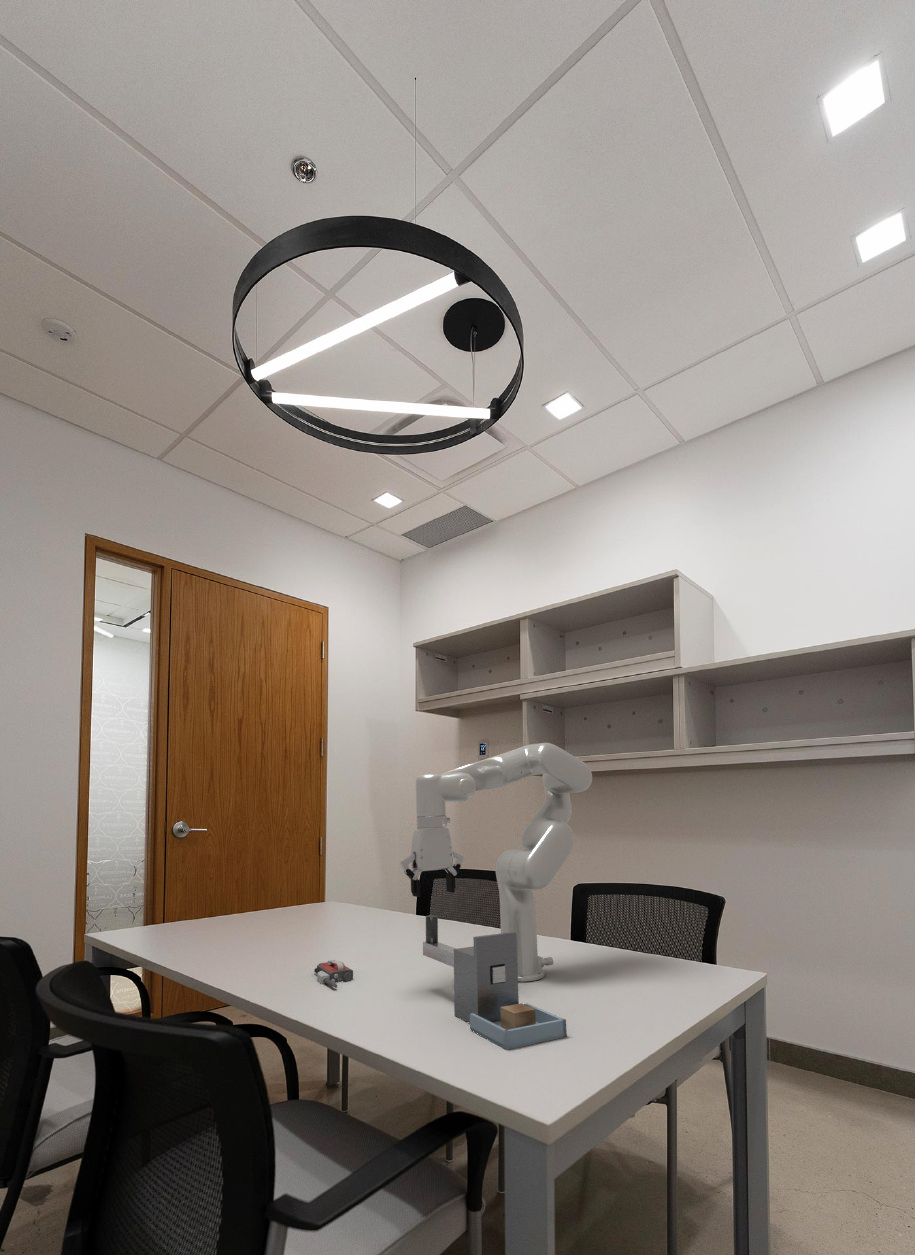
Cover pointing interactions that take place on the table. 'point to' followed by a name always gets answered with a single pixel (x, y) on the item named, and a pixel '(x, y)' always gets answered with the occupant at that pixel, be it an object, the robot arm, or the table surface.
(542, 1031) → the slate tray
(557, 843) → the robot arm
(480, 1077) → the table surface
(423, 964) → the table surface
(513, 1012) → the block
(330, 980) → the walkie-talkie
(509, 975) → the bracket
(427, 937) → the steel shaft
